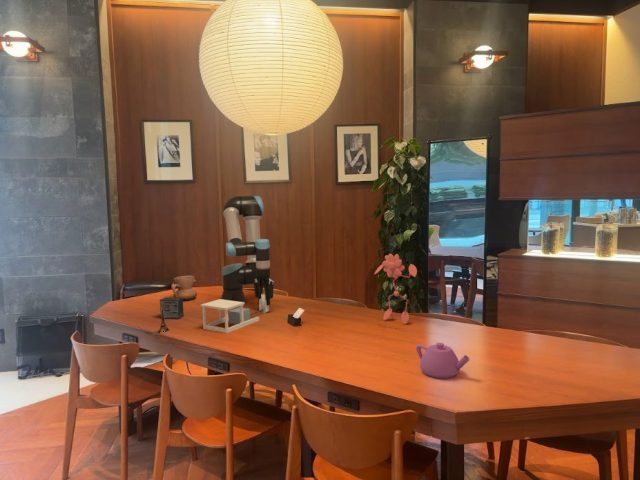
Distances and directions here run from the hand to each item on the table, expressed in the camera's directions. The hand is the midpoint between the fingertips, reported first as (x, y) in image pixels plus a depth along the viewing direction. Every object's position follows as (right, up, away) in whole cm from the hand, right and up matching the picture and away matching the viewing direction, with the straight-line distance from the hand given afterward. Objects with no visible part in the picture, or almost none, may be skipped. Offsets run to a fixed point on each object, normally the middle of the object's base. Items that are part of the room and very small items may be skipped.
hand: (264, 310), depth 251 cm
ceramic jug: (-55, +1, +41) cm, 68 cm away
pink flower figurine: (+66, -3, -22) cm, 70 cm away
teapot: (+74, -9, -85) cm, 113 cm away
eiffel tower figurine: (-45, -7, -29) cm, 54 cm away
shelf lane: (-13, -4, -22) cm, 26 cm away
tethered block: (-6, -2, -10) cm, 12 cm away
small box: (-49, -3, -2) cm, 49 cm away
